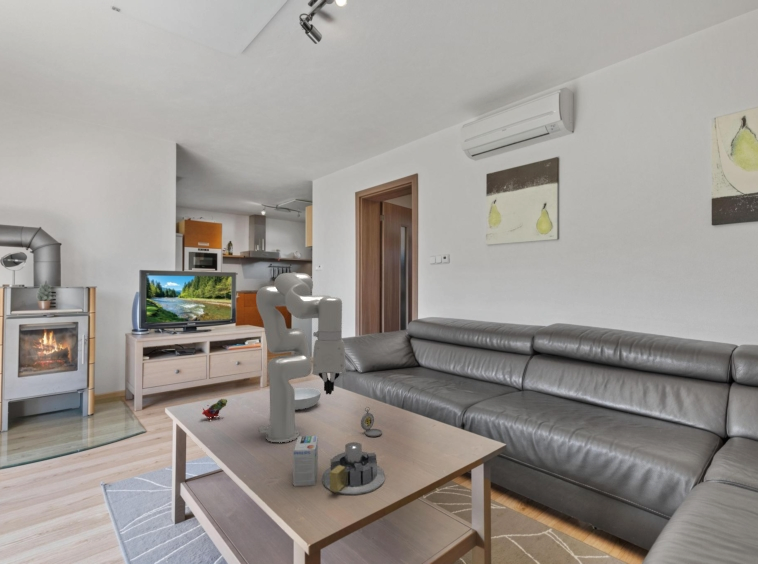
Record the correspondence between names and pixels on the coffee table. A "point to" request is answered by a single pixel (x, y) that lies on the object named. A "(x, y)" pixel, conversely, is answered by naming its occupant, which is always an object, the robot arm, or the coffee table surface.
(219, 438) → the coffee table surface
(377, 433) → the pocket watch
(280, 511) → the coffee table surface
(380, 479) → the spindle plate
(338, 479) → the castellated metal disc
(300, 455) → the light bulb box
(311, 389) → the serving bowl
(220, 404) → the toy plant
